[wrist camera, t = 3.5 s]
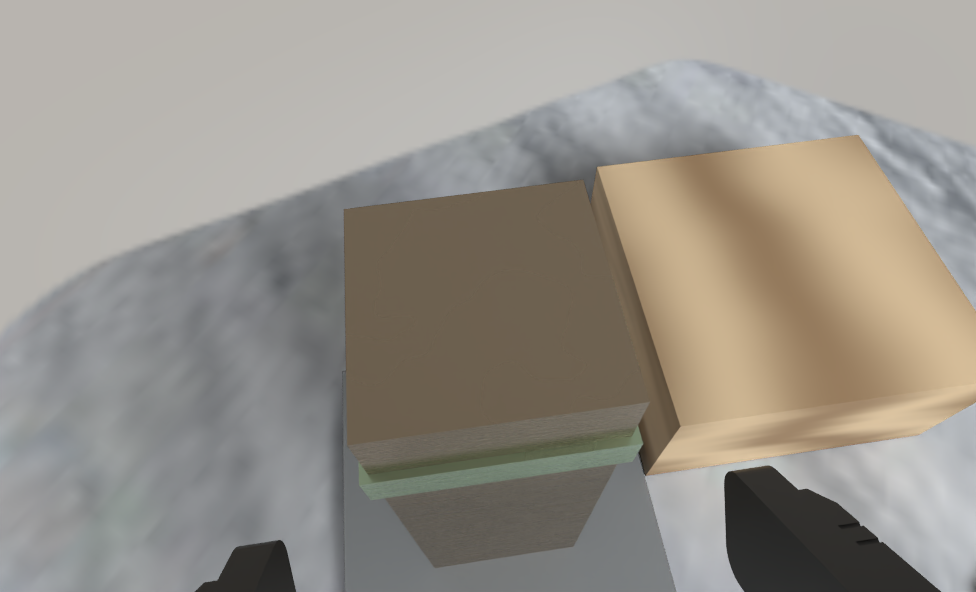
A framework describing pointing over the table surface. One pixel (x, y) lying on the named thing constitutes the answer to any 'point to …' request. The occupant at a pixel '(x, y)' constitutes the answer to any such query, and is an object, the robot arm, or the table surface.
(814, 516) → the robot arm
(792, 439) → the rest block
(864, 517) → the table surface
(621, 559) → the coaster
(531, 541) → the column
